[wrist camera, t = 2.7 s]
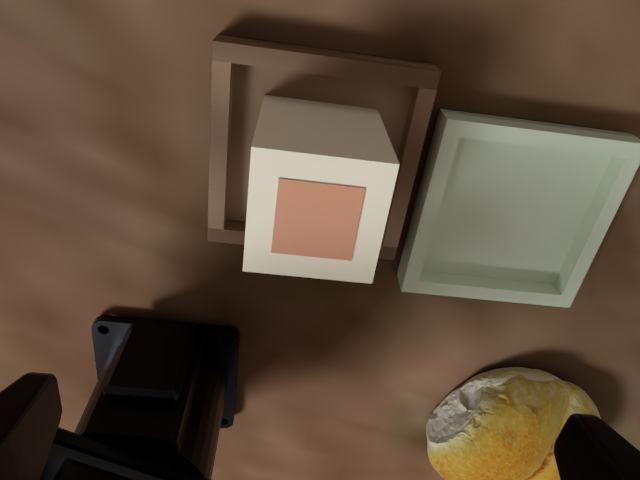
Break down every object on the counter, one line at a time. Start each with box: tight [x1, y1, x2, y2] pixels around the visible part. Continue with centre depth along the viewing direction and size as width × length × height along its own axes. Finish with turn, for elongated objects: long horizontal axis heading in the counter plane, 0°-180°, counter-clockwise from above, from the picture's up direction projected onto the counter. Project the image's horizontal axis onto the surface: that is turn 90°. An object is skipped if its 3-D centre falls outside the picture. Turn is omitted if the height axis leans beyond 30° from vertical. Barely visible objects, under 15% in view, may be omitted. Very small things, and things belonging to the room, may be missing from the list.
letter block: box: [243, 95, 400, 284], centre depth 17 cm, size 4×4×5 cm
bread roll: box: [426, 367, 601, 480], centre depth 26 cm, size 8×9×4 cm
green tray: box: [397, 109, 640, 308], centre depth 20 cm, size 7×7×1 cm
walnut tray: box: [207, 34, 441, 260], centre depth 19 cm, size 7×7×1 cm
